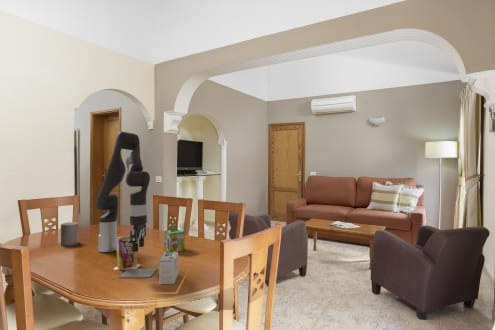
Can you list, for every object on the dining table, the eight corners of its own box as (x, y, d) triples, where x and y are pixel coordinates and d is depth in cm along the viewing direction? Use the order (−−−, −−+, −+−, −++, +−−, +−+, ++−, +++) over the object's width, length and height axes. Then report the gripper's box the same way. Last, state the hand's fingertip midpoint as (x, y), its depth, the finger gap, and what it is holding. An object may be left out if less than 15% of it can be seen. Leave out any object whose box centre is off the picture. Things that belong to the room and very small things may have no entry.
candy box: (134, 263, 154) (134, 234, 154) (137, 265, 151) (137, 235, 151) (116, 267, 149) (116, 236, 148) (119, 269, 145) (118, 238, 145)
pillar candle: (57, 246, 189) (56, 222, 189) (71, 242, 198) (71, 219, 198) (68, 247, 185) (67, 223, 185) (82, 243, 194) (81, 220, 194)
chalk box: (170, 254, 171) (170, 228, 171) (163, 250, 178) (163, 225, 178) (185, 251, 177) (185, 225, 177) (178, 247, 184) (177, 223, 184)
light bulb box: (163, 275, 139) (163, 251, 139) (178, 274, 139) (178, 251, 139) (158, 284, 128) (158, 259, 128) (174, 283, 129) (174, 258, 129)
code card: (112, 269, 146) (112, 269, 146) (118, 264, 153) (118, 264, 153) (135, 269, 146) (135, 269, 146) (140, 264, 153) (140, 264, 153)
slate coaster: (119, 277, 136) (119, 276, 136) (127, 270, 146) (127, 268, 146) (150, 277, 136) (150, 276, 136) (156, 269, 146) (156, 268, 146)
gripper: (135, 211, 148) (136, 245, 148) (124, 216, 133) (124, 253, 133) (151, 211, 148) (151, 245, 148) (141, 216, 133) (141, 253, 134)
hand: (138, 249), depth 141 cm, fingers open, 7 cm apart
